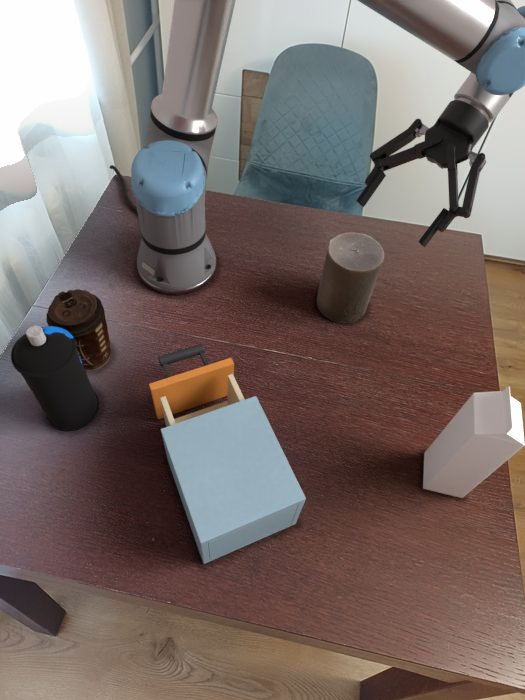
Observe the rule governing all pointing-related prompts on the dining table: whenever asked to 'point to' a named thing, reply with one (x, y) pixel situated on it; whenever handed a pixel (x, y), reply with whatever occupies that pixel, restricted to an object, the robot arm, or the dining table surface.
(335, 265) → the pillar candle
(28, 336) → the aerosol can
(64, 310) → the coffee cup
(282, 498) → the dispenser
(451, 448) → the milk
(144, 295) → the dining table surface
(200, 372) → the orange drawer
